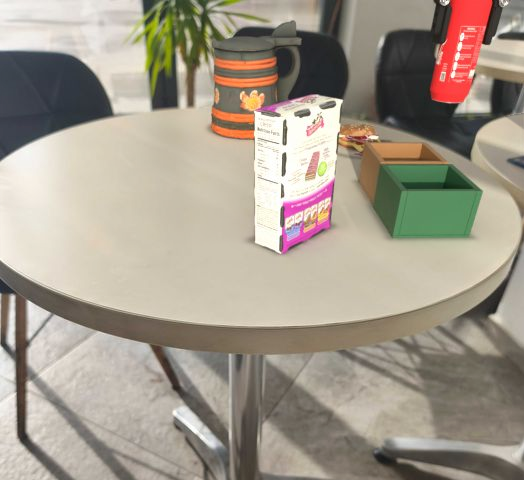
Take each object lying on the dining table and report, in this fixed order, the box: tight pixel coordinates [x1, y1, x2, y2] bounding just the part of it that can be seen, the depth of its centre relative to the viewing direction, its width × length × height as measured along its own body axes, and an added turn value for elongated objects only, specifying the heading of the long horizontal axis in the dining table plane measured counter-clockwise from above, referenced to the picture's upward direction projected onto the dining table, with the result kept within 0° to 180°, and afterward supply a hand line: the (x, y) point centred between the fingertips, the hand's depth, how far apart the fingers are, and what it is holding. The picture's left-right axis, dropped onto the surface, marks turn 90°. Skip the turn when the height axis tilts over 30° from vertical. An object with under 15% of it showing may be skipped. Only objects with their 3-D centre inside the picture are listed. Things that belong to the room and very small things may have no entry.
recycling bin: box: [372, 163, 484, 239], centre depth 68 cm, size 11×11×7 cm
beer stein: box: [210, 19, 303, 140], centre depth 102 cm, size 19×15×20 cm
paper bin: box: [358, 141, 450, 205], centre depth 77 cm, size 10×10×7 cm
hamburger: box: [338, 123, 382, 157], centre depth 96 cm, size 14×14×6 cm
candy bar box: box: [253, 93, 344, 255], centre depth 61 cm, size 11×5×16 cm, turn 139°
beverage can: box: [429, 0, 492, 104], centre depth 65 cm, size 5×5×12 cm
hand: (460, 41), depth 64 cm, fingers closed on beverage can, 5 cm apart
